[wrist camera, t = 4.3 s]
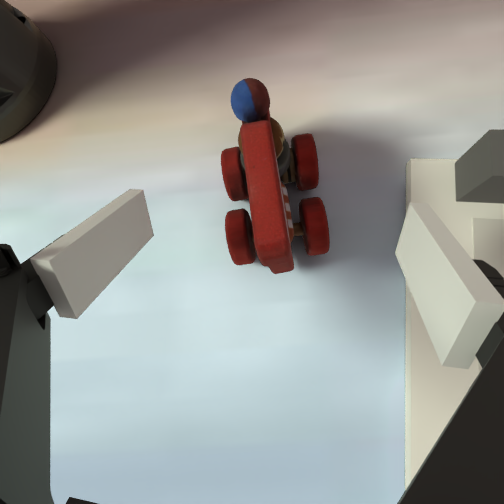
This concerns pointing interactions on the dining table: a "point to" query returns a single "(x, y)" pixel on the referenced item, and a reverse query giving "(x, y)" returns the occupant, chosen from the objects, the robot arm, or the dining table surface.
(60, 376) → the dining table surface
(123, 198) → the robot arm
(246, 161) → the red toy car
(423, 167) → the mat
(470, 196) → the grey rectangular block
